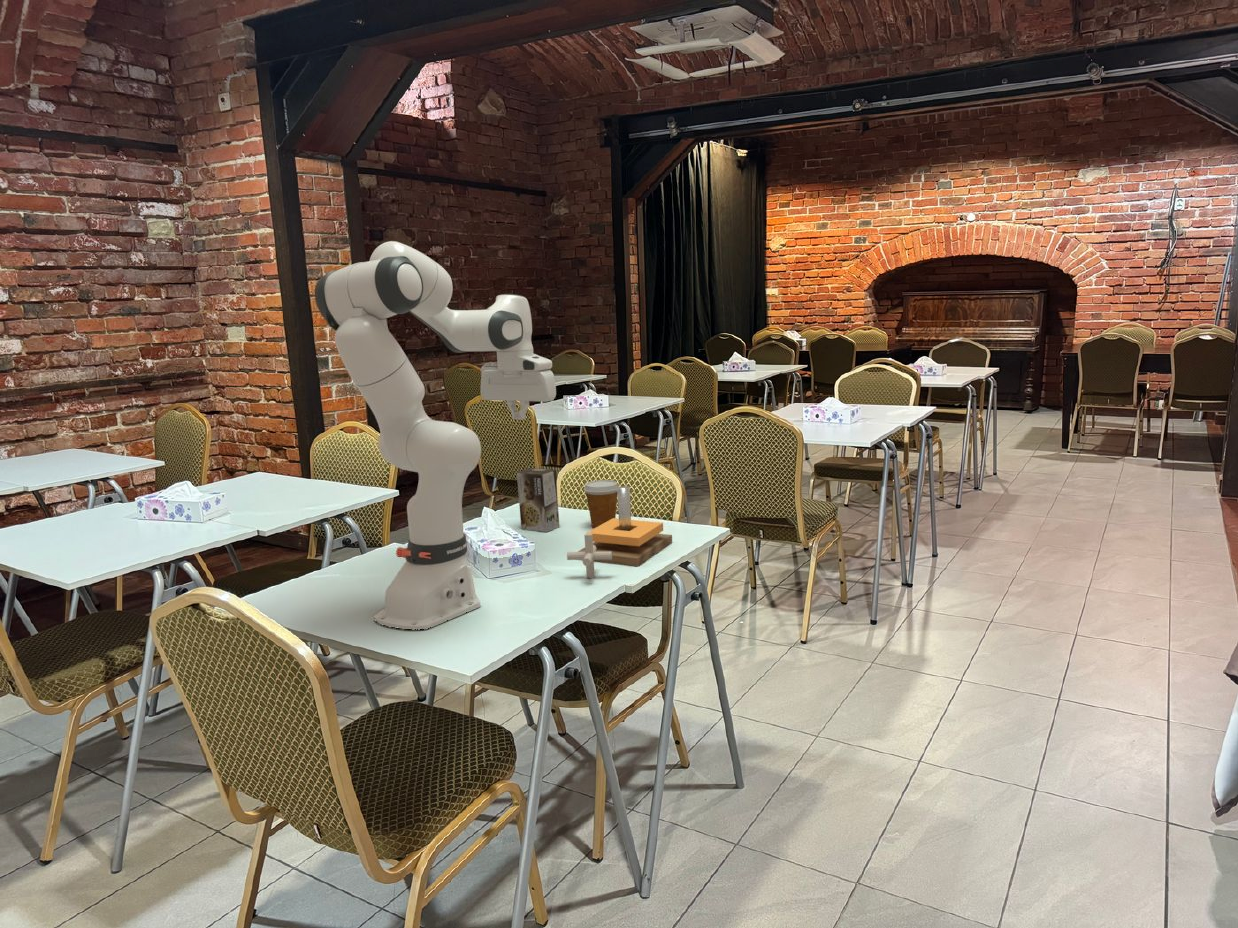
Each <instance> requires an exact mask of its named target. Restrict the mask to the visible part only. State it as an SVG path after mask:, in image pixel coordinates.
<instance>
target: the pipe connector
mask: <svg viewBox="0 0 1238 928" xmlns="http://www.w3.org/2000/svg"><path fill="white" fill-rule="evenodd" d="M583 537H584V548H585V552H578V551H568V552H566V560H567V561H582V565H584V566H585V569H586V578H587V579H593V578H595V577H596V576H595V561H594V560H606V559H612V551H608V552H596V549H597V548H596V546H595V545H593V535H592V533H587V532H585V533H584V536H583Z"/></svg>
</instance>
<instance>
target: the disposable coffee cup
mask: <svg viewBox="0 0 1238 928" xmlns="http://www.w3.org/2000/svg"><path fill="white" fill-rule="evenodd" d="M584 486H585V487H584V488H583V490H584V493H585V495H586V499H587V505H588V506H587V507H588V512H589V518H590V522H591V527H592V529H594V528H596V527H598V526H600V525H602V524H604V523H605V522H607V521H609V520H611V519H613V518H616V516H617V515H616V513H617V505H618V492H617V488H618V487H620V486H619V484H618V482H617V481H616V480H611V479H598V480H592V481H588V482H586V483H585V485H584Z"/></svg>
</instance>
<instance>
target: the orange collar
mask: <svg viewBox="0 0 1238 928" xmlns="http://www.w3.org/2000/svg"><path fill="white" fill-rule="evenodd" d="M631 529H632V530H631V531H623V530H619V518H616V517H615V518H613V519H611V520H609V521H607V522H605V523H604V524H602V525H600V526H598V527H596V528H592V529H591V530H589V531H588V532H586V533H592V535H593V542H602V543H612V544H621V545H630V546H640V545H642V544H643V543H645V542H646V541H648V540H650V539H651V538H653V537H654V536H656V535H657V534H661V532H664V522H659V521H646V520H639V519H638V520H637V519H636V520H635V519H631Z"/></svg>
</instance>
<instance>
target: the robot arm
mask: <svg viewBox="0 0 1238 928" xmlns="http://www.w3.org/2000/svg"><path fill="white" fill-rule="evenodd" d="M453 288H454V287H453V281H452V278H451V275H450V274H449V273H448V271H446V269H445V268H444V267H443V266H442V265H440V264H439V263H438V262H436V261H435V260H433V259H432V258H431V257H429V256H427V254H425V253H423V252H421V251H419V250H418V249H415V248H413V247H412V246H409V245H407V244H404V243H403V242H402V243H401V242H399V241H394V240H390V241H386V242H383V243H381V244H380V245H378V246H377V247H376V248H375V249H374V250H373V252H372V254H371V256H370V258H369V261H368V260H367V261H362V262H356V263H353V264H350V265H347V266H344V267H342V268H340V269H333V270H331V271H329V272H328V273H326V274H324V275H323V276H322V277H321V278H319V279H318V280H317V281H316V283H315V287H314V300H315V304H316V307H317V309H318V311H319V313H320V315H321V316H322V318H323V320H324V321H326V324H327V325H328V326H329V327H330V328H331V329H332V330H333V331H335V333H334V342H335V343H334V344H335V346H336V349H337V351H338V354H339V356H340V360H341V361H342V363H343V365H344V368H345V369H346V371H347V373H348V375H349V377H350V378H351V380H352V381H353V383H354V385H355V386H356V387H357V389H358V391H359V392H360V394H361V396H362V397H363V399H364V400H365V402H366V404H367V405H368V407H369V408H370V410H371V412H372V414H373V415H374V417H375V420H376V422H377V424H378V428H379V432H380V433H379V437H378V441H377V443H378V450H379V453H380V455H381V458H383V460H385V461H386V462H387V463H389V464H391V465H392V466H395V467H396V468H398V469H401V470H403V471H404V470H405V471H410V472H414V473H417V474H418V484H417V489H416V492H415V494H414V495H412V497H411V498H410V499H409V500H408V501H407V505H406V514H407V522H408V524H407V525H408V533H409V539H408V541H407V542H408V543H407V547H405V548H404V547H400V546H398V547H397V548H396V551H395V555H396V557H397V558H404V559H405V562H404V564H403V565H402V566H401V568H400V570H399V571H398V573H397V574H396V575H395V577H394V578H393V580H392V581H391V582H390V583H389V585H388V586H387V588H386V590H385V595H384V608H382V609H381V610H380V611H379V612H377V613H376V614H375V615H373V620H374V619H375V620H376V621H377V622H378V623H380V624H383V625H386V626H390V627H389V628H391V627H398V628H403V629H402V630H404V629H412V630H411V631H419V630H420V629H424V630H428V628H429V629H431V628H433V627H435V626H438V625H440V624H443V623H445V622H448V621H450V620H453V619H455V618H457V617H459V616H460V617H461V616H462V615H465V614H466V612H467V613H469V612H471V611H474V610H476V609H478V608H480V607H481V606H482V605H481V601H480V600H479V599H478V596H477V594H476V593H477V592H476V588H475V582H474V577H473V573H472V568H471V566H470V563H469V561H468V558H467V553H468V541H467V536H466V534H465V532H464V520H463V506H462V505H463V493H464V487H465V485H466V481H467V479H468V477H469V475H470V474H471V472H472V471H474V470H475V469H476V468H477V465H478V464H479V462H480V459H481V455H482V446H481V441H480V438H479V437H478V435H477V434H476V432H474V431H473V430H472V429H470V428H468V427H466V426H464V425H462V424H459V423H457V422H452V421H444V420H442V421H441V420H434V419H433V418H431V417H429V416H428V414H427V413H426V410H425V408H424V405H423V402H422V401H423V400H424V398H425V393H426V390H425V389H426V388H425V385H424V383H423V381H422V380H421V378H420V376H419V375H418V373H417V371H416V369H415V368H414V367H413V365H412V363H411V361H410V360H409V357H408V356H407V355H406V353H405V352H404V350H403V349H402V346H401V344H399V342H398V341H397V339H396V337H394V336H393V334H392V333H391V332H390V330H389V327H388V321H387V320H388V318H391V317H393V316H396V315H404V314H406V313H408V312H409V313H410V314H412V315H413V316H414V317H415V318H416V319H418V320H419V321H420V322H422V323H423V324H424V325H426V326H427V327H428V328H429V329H431V331H433V332H434V333H435V334H437V336H438V337H439V338H440V339H441V341H442V342H443V343H444V345H445V346H446V347H447V348H448V349H449V350H450V351H451V352H453V353H456V354H457V353H459V354H461V353H468V352H496V360H497V361H494V362H485V363H484V364H483V365H482V366H481V368H480V374H481V375H480V376H481V379H480V396H481V398H482V400H484V401H506V403H507V404H506V405H507V407H508V409H509V410H510V412H511V418H512V420H525V419H526V418H527V416H526V415H527V413H526V412H527V410H528V408H529V406H530V402H546V403H547V402H551V401H554V399H556V396H557V387H556V379H555V375H554V373H553V371H552V370H551V369H552V368H553V362H552V361H553V360H551V359H548V358H547V357H543V356H540V355H538V354H536V353H534V347H533V346H534V345H533V344H532V333H533V323H532V322H533V321H532V313H531V308H530V304H529V301H528V299H527V298H526V297H525V296H523V295H521V294H513V293H501V294H499V295H497V296H496V297H495V302H494V303H492V305H491V306H489V307H487V308H486V309H468V310H467V309H466V310H465V309H451V308H449V307H448V305H449V303H450V302H451V298H452V296H453V290H454V289H453ZM518 402H519V406H521V407H520V410H518V408H517V406H516V405H517V403H518ZM447 620H448V621H447ZM378 623H377V624H378ZM380 624H379V625H380ZM383 625H382V626H383ZM386 626H385V627H386ZM430 627H431V628H430ZM415 629H416V630H415ZM417 629H418V630H417ZM420 631H421V630H420Z"/></svg>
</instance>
